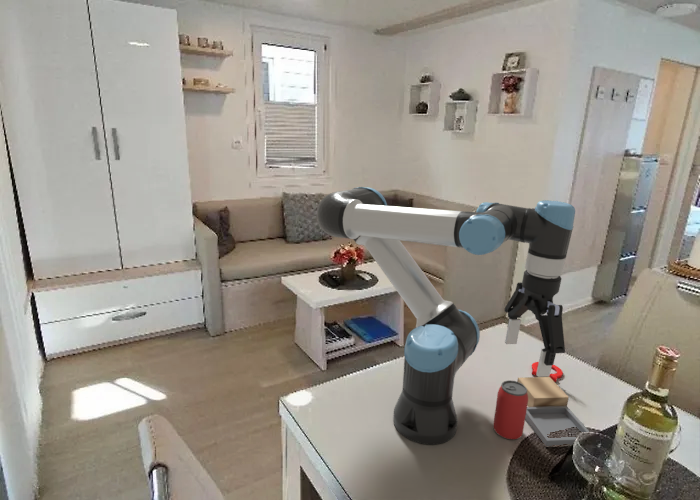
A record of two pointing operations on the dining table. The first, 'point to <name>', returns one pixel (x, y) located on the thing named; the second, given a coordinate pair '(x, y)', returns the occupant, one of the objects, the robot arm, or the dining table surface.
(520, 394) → the beer can
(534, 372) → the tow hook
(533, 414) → the charcoal tray
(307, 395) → the dining table surface
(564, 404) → the block
